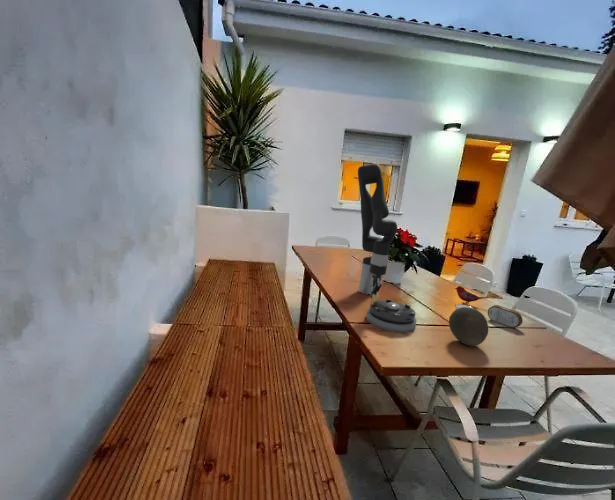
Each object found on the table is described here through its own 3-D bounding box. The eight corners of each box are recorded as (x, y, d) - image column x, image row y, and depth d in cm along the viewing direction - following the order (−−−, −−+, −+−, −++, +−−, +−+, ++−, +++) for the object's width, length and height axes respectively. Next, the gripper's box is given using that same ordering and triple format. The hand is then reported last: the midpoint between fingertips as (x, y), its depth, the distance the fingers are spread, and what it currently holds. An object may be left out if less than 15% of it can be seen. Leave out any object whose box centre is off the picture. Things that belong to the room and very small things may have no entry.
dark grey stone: (477, 339, 132) (484, 306, 129) (488, 355, 118) (497, 319, 116) (442, 332, 135) (449, 300, 132) (449, 347, 121) (457, 312, 118)
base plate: (381, 308, 156) (382, 303, 156) (423, 324, 142) (424, 318, 141) (357, 318, 140) (357, 312, 140) (401, 337, 126) (402, 330, 125)
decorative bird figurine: (451, 300, 182) (455, 284, 180) (485, 307, 176) (489, 290, 174) (452, 302, 179) (455, 285, 177) (486, 308, 173) (490, 291, 172)
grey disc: (408, 309, 150) (411, 292, 148) (419, 326, 130) (423, 307, 129) (366, 304, 151) (369, 287, 149) (372, 320, 131) (375, 301, 130)
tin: (520, 329, 148) (524, 313, 146) (518, 331, 146) (522, 314, 144) (487, 317, 159) (491, 302, 158) (485, 318, 158) (488, 303, 156)
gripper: (368, 258, 146) (362, 292, 150) (373, 266, 133) (367, 303, 137) (383, 260, 146) (377, 294, 150) (390, 267, 134) (384, 305, 137)
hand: (373, 298), depth 144 cm, fingers closed
